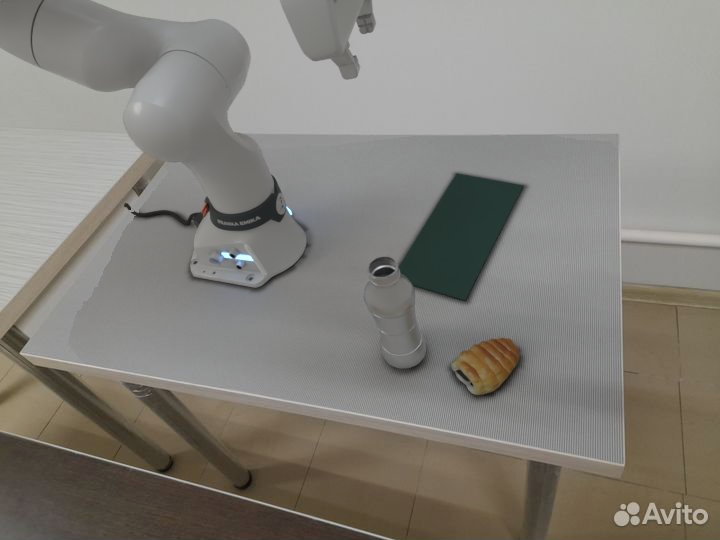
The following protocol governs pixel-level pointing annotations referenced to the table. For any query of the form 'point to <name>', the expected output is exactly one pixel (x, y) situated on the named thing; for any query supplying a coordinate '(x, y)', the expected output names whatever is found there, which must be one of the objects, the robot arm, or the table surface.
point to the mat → (459, 235)
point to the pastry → (486, 365)
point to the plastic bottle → (394, 313)
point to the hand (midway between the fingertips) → (361, 51)
